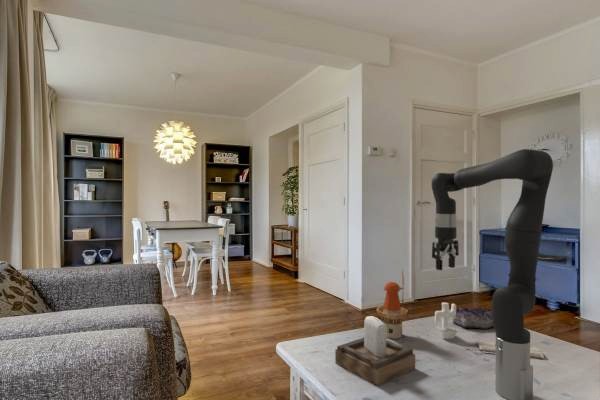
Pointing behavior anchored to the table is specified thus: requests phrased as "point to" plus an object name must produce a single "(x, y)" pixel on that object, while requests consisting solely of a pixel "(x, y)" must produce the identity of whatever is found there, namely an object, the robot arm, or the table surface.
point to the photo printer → (375, 336)
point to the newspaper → (492, 349)
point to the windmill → (393, 310)
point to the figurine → (445, 321)
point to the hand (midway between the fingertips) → (445, 268)
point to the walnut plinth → (372, 372)
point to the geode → (474, 318)
